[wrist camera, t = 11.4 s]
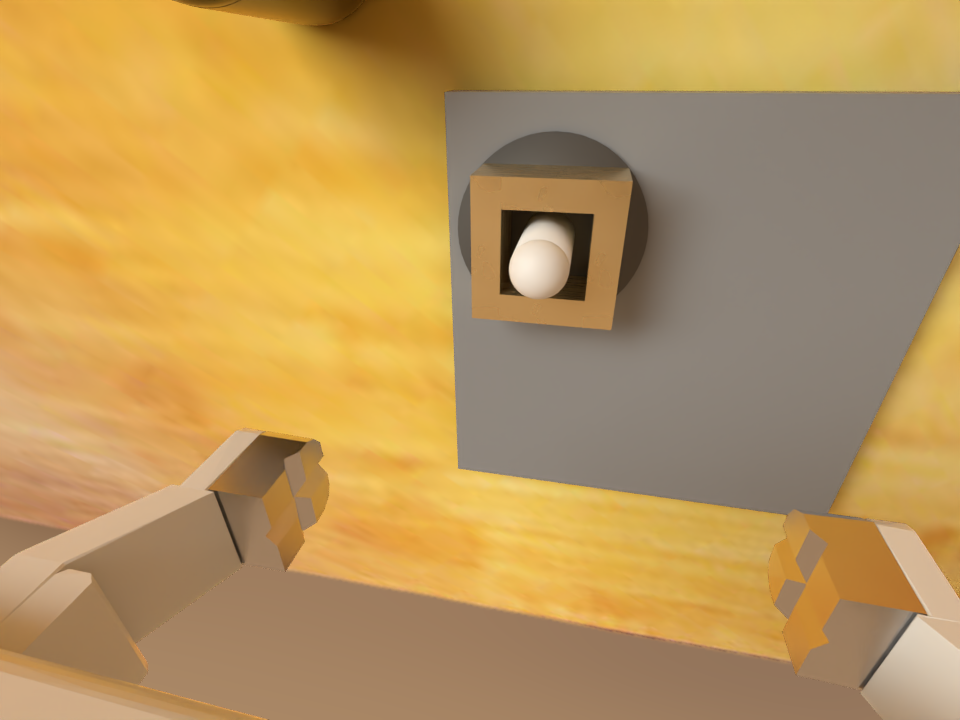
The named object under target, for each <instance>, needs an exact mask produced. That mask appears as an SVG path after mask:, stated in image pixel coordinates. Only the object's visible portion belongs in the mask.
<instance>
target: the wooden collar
mask: <svg viewBox="0 0 960 720" xmlns="http://www.w3.org/2000/svg"><path fill="white" fill-rule="evenodd" d="M632 184H633V180H632V176H631V173H630V169H629V168H622V167H590V166H559V165H528V164H496V163H484V164H483V165H482V166H481V167H479V168H478V169H477V170H476V171H475V172H474V173H473V174H471V175H470V206H471V284H472V318H478V319H490V320H501V321H513V322H524V323H535V324H547V325H558V326H569V327H581V328H592V329H604V330H611V329H612V322H613V315H614V308H615V301H616V294H617V287H618V280H619V273H620V267H621V260H622V253H623V246H624V239H625V232H626V225H627V218H628V211H629V205H630V198H631V191H632ZM511 210H521V211H542V212H563V213H584V214H593V222H592V231H591V240H590V249H589V259H588V268H587V277H584V276H568V279H567V282H566V284H565V285H564V287H563V288H562V289H561V290H560V291H559V292H558V293H557V294H555V295H553V296H552V297H549V298H546V299H531V298H528V297H526V296H524V295H522V294H521V293H520V292H518V291H517V289H516V288H515V287H514V285H513V284H512V282H511V279H510V275H509V264H510V245H511Z"/></svg>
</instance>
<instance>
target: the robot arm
mask: <svg viewBox="0 0 960 720" xmlns="http://www.w3.org/2000/svg"><path fill="white" fill-rule="evenodd" d="M322 457H323V452H322V449H321V445H320V442H318V441H316V440H314V439H310V438H304V437H298V436H293V435H287V434H281V433H275V432H269V431H267V432H266V431H260V430H254V429H249V428H243V429H240V430H237V431H235V432H234V433H233V434H232V435H231V436H230V437H229V438H228V439H227V440H226V441H225V442H224V443H223V444H222V445H221V446H220V447H219V448H218V449H217V450H216V451H215V452H214V453H213V454H212V455H211V456H210V457H209V458H208V459H207V460H206V461H205V462H204V463H203V464H202V465H201V466H200V467H198V468H197V469H196V470H195V471H194V472H193V473H192V474H191V475H190V476H189V477H188V478H187V479H186V480H185V481H184V482H183V483H182V484H181V485H180V486H179V485H170V486H168V487H166V488H163V489H161V490H159V491H157V492H154V493H152V494H150V495H148V496H145V497H143V498H141V499H139V500H136V501H134V502H132V503H130V504H127V505H125V506H123V507H121V508H118V509H116V510H114V511H112V512H109V513H107V514H105V515H102V516H100V517H98V518H96V519H93V520H91V521H89V522H87V523H84V524H82V525H80V526H78V527H75V528H73V529H71V530H69V531H66V532H64V533H62V534H60V535H57V536H55V537H53V538H51V539H48V540H46V541H44V542H42V543H39V544H37V545H35V546H33V547H30V548H28V549H26V550H23V551H21V552H19V553H17V554H15V555H14V556H13V557H12V558H10V559H9V560H8V561H7V562H5V563H4V564H3V565H2V566H1V567H0V720H268V719H264V718H260V717H256V716H253V715H249V714H245V713H241V712H238V711H234V710H230V709H226V708H223V707H219V706H215V705H211V704H208V703H204V702H200V701H196V700H192V699H189V698H185V697H181V696H178V695H174V694H170V693H166V692H163V691H159V690H155V689H151V688H147V687H144V686H140V685H139V684H140V683H141V681H142V680H143V679H144V677H145V676H146V674H147V673H148V663H147V661H146V660H145V658H144V657H143V655H142V653H141V652H140V650H139V649H138V647H137V645H136V643H137V642H138V641H140V640H141V639H143V638H144V637H146V636H147V635H148V634H150V633H151V632H153V631H154V630H155V629H157V628H158V627H160V626H161V625H162V624H164V623H165V622H167V621H168V620H169V619H171V618H172V617H174V616H175V615H176V614H178V613H179V612H181V611H182V610H183V609H185V608H186V607H187V606H189V605H190V604H192V603H193V602H194V601H196V600H197V599H198V598H200V597H201V596H203V595H204V594H206V593H207V592H208V591H210V590H211V589H213V588H214V587H215V586H217V585H218V584H219V583H221V582H222V581H224V580H225V579H227V578H228V577H229V576H231V575H232V574H233V573H235V572H236V571H238V570H239V569H241V568H242V565H248V566H254V567H259V568H265V569H271V570H277V571H283V572H286V570H287V569H288V567H289V565H290V564H291V562H292V561H293V559H294V558H295V556H296V555H297V553H298V551H299V550H300V548H301V547H302V545H303V544H304V542H305V540H304V533H303V530H305V529H307V528H309V527H310V526H312V525H314V524H315V523H317V521H318V520H319V518H320V516H321V515H322V513H323V511H324V509H325V506H326V503H327V500H328V496H329V479H328V474H327V473H326V472H325V471H324V469H323V468H322V467H321V466H320V465H319V464H318V463H319V461H320V460H321V459H322ZM783 527H784V530H785V533H786V535H787V538H786V539H784V540H782V541H781V542H779V543H777V544H775V545H774V548H773V551H772V553H771V556H770V559H769V569H768V580H769V587H770V592H771V596H772V599H773V603H774V605H775V606H776V607H777V608H778V609H779V610H780V611H781V612H782V613H783V614H784V615H785V616H786V617H787V618H788V621H787V623H786V625H785V627H784V629H783V631H782V632H783V636H784V639H785V642H786V645H787V648H788V652H789V655H790V658H791V661H792V664H793V668H794V671H795V674H796V676H801V677H805V678H810V679H814V680H818V681H823V682H827V683H831V684H836V685H840V686H844V687H849V688H853V689H858V690H862V691H861V695H862V696H863V697H864V698H865V699H866V701H867V702H868V703H869V704H870V705H871V707H872V708H873V709H874V710H875V711H876V712H877V714H878V715H879V716H880V717H881V718H882V720H960V599H959V597H958V596H957V594H956V593H955V591H954V590H953V588H952V587H951V585H950V584H949V582H948V581H947V579H946V577H945V576H944V574H943V573H942V571H941V570H940V568H939V567H938V565H937V564H936V562H935V561H934V559H933V558H932V556H931V555H930V553H929V552H928V550H927V549H926V547H925V546H924V544H923V543H922V541H921V540H920V538H919V537H918V535H917V534H916V532H915V531H914V530H913V529H912V528H911V527H909V526H908V525H907V524H904V523H897V522H889V521H882V520H874V519H863V518H857V517H850V516H843V515H835V514H828V513H821V512H814V511H806V510H799V509H794V510H792V511H791V512H790V513H789V514H788V516H787V518H786V520H785V522H784V524H783Z"/></svg>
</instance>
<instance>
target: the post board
mask: <svg viewBox="0 0 960 720" xmlns="http://www.w3.org/2000/svg"><path fill="white" fill-rule="evenodd" d="M445 119H446V146H447V173H448V201H449V228H450V255H451V283H452V310H453V337H454V364H455V392H456V419H457V446H458V468H459V469H466V470H473V471H480V472H487V473H494V474H501V475H508V476H516V477H523V478H530V479H537V480H544V481H551V482H558V483H565V484H572V485H579V486H586V487H593V488H601V489H608V490H615V491H622V492H629V493H636V494H643V495H650V496H657V497H664V498H671V499H679V500H686V501H693V502H700V503H707V504H714V505H721V506H728V507H735V508H742V509H749V510H756V511H764V512H771V513H778V514H785V515H788V514H789V513H790V512H791V511H792V510H794V509H799V510H806V511H814V512H821V513H828V512H829V510H830V508H831V506H832V504H833V502H834V500H835V497H836V495H837V493H838V491H839V489H840V487H841V485H842V483H843V481H844V479H845V477H846V475H847V473H848V471H849V469H850V467H851V465H852V463H853V461H854V459H855V457H856V455H857V453H858V451H859V448H860V446H861V444H862V442H863V440H864V438H865V436H866V434H867V432H868V430H869V428H870V426H871V424H872V422H873V420H874V418H875V416H876V414H877V412H878V410H879V408H880V406H881V404H882V402H883V399H884V397H885V395H886V393H887V391H888V389H889V387H890V385H891V383H892V381H893V379H894V377H895V375H896V373H897V371H898V369H899V367H900V365H901V363H902V361H903V359H904V357H905V355H906V352H907V350H908V348H909V346H910V344H911V342H912V340H913V338H914V336H915V334H916V332H917V330H918V328H919V326H920V324H921V322H922V320H923V318H924V316H925V314H926V312H927V310H928V308H929V306H930V303H931V301H932V299H933V297H934V295H935V293H936V291H937V289H938V287H939V285H940V283H941V281H942V279H943V277H944V275H945V273H946V271H947V269H948V267H949V265H950V263H951V261H952V259H953V257H954V254H955V252H956V250H957V248H958V246H959V244H960V92H800V91H492V90H452V91H447V92H445ZM484 163H496V164H528V165H559V166H590V167H622V168H629V169H630V173H631V176H632V180H633V184H632V191H631V198H630V205H629V211H628V218H627V225H626V232H625V239H624V246H623V253H622V260H621V267H620V273H619V280H618V287H617V294H616V301H615V308H614V315H613V322H612V329H611V330H604V329H592V328H581V327H569V326H558V325H547V324H535V323H524V322H513V321H501V320H490V319H478V318H472V284H471V206H470V175H471V174H473V173H474V172H475V171H476V170H477V169H478V168H479V167H481V166H482V165H483V164H484ZM592 222H593V214H584V213H563V212H542V211H521V210H511V245H510V264H509V275H510V279H511V282H512V284H513V285H514V287H515V288H516V289H517V291H518V292H520V293H521V294H522V295H524V296H526V297H528V298H531V299H546V298H549V297H552V296H553V295H555V294H557V293H558V292H559V291H560V290H561V289H562V288H563V287H564V285H565V284H566V282H567V279H568V276H584V277H587V268H588V259H589V249H590V240H591V231H592Z"/></svg>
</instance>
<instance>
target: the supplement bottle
mask: <svg viewBox="0 0 960 720" xmlns="http://www.w3.org/2000/svg"><path fill="white" fill-rule="evenodd" d="M173 1H176V2H179V3H182V4H186V5H190V6H194V7H199V8H204V9H210V10H216V11H222V12H228V13H234V14H240V15H246V16H252V17H258V18H264V19H270V20H276V21H282V22H288V23H294V24H302V25H310V26H322V25H329V24H333V23H336V22H338V21H340V20H342V19H344V18H346V17H347V16H349V15H350V14H351V13H353V12H354V11H355V10H356V9H357V8H358V7H359V6H360V5H361V4H362V2H363V1H364V0H173Z"/></svg>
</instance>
